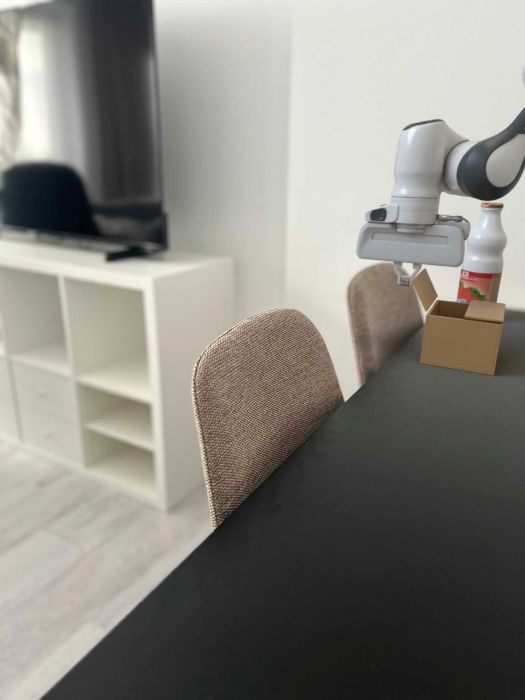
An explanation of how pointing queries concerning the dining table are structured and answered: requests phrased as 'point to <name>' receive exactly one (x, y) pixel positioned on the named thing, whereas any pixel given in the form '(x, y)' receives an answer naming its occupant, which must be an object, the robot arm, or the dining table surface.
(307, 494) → the dining table surface
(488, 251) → the fruit juice
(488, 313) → the brown open box
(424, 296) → the cardboard box flap
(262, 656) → the dining table surface
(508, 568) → the dining table surface
